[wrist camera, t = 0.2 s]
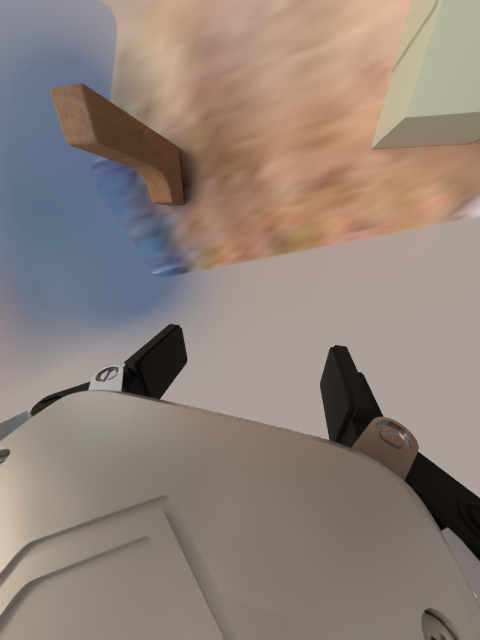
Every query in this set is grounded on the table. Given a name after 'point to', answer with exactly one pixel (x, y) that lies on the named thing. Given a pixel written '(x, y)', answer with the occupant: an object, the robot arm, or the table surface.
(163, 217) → the table surface
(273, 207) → the table surface
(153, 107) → the table surface
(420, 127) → the cubby shelf
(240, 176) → the table surface
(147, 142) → the wooden block
